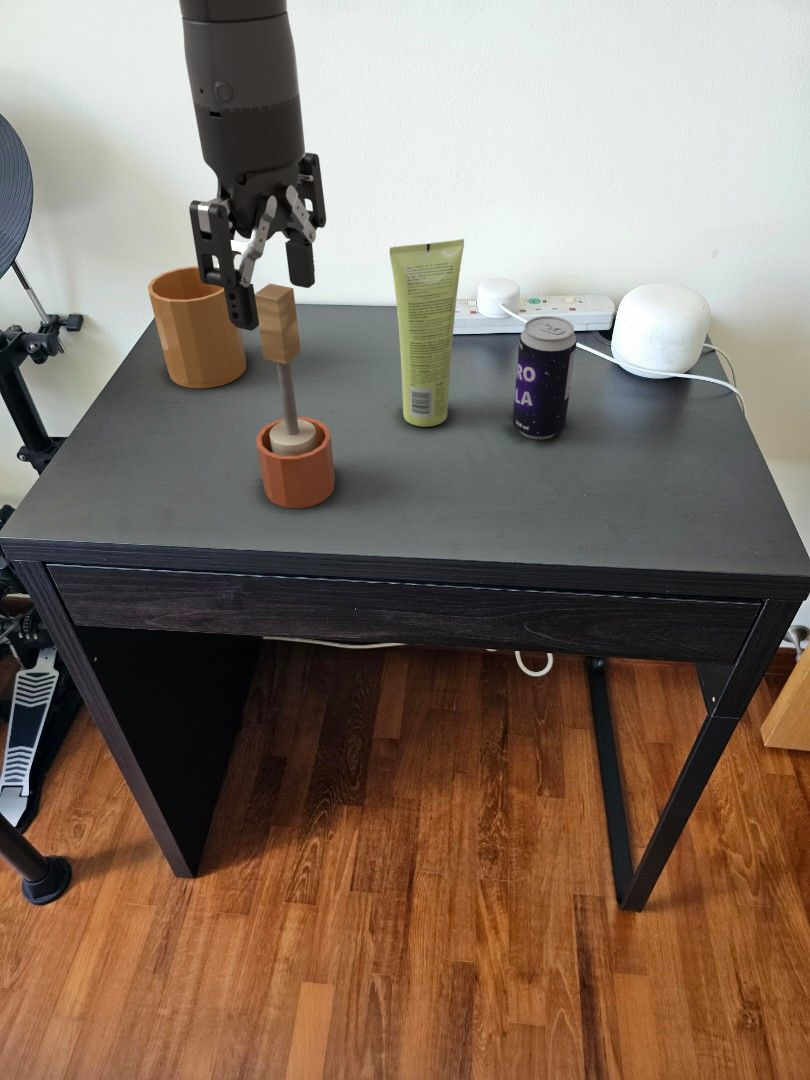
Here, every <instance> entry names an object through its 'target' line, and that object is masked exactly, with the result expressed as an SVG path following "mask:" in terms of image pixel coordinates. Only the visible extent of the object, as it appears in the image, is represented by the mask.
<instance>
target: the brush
mask: <svg viewBox="0 0 810 1080" xmlns="http://www.w3.org/2000/svg"><path fill="white" fill-rule="evenodd" d="M254 293H255V299H256V306H257V312H258V318H259V326H258V330H259V337H260V343H261V350H262V357H263V359H264V360H266V361H271V362H274V363H276V370H277V376H278V382H279V384H278V385H279V391H280V398H281V405H282V412H283V419H285V421H283V422H280V423H278V424H276V425H275V426H274V427H273V428H272V429H271V431H270V441H271V447H272V453H275V454H278V455H281V456H297V455H301V454H305V453H309V452H311V451H313V450H314V449H316V448H318V444H317V435H316V429H315V427H314V425H313V424H311V423H310V422H308V421H305V420H299V419H297V417H298V413H297V406H296V405H297V404H296V397H295V389H294V381H293V380H294V379H293V373H292V367H291V366H292V365H291V361H293V360H294V359H295V358H296V357H298V356H299V355H300V354H301V352H302V351H301V343H300V342H301V341H300V332H299V325H298V324H299V323H298V315H297V306H296V299H295V291H294V287H290V286H284V285H279V284H276V283H268V284H267V285H265V286H264V287H263V288H261V289H259V290H258V291H256V292H254Z"/></svg>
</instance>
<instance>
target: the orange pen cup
mask: <svg viewBox="0 0 810 1080" xmlns="http://www.w3.org/2000/svg"><path fill="white" fill-rule="evenodd" d="M147 291H148V296H149V301H150V303H151V309H152V312H153V316H154V319H155V324H156V329H157V332H158V335H159V340H160V345H161V348H162V353H163V356H164V360H165V364H166V369H167V373H168V376H169V378H170V380H171V381H172V382H173V383H175V384H176V385H177V386H181V387H184V388H188V389H196V390H197V389H198V390H199V389H211V388H212V389H213V388H217V387H222V386H225V385H227V384H229V383H231V382H233V381H236V380H237V379H239V377H241V376H242V375H243V374H244V373H245V371H246V369H247V357H246V356H247V355H246V351H245V344H244V339H243V333H242V329H241V328H237V327H235V326H234V325H233V323H231V321H230V319H229V314H228V309H227V307H228V306H227V303H226V298H225V292H224V288H223V287H220V286H215V285H211V284H205V283H202V282H201V280H200V275H199V269H198V265H192V266H186V267H179V268H175V269H171V270H168V271H165V272H163V273H161V274H159V275H157V276H156V277H154V278H152V279H151V281H150V282H149V283H148V284H147Z"/></svg>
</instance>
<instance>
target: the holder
mask: <svg viewBox="0 0 810 1080" xmlns="http://www.w3.org/2000/svg"><path fill="white" fill-rule="evenodd" d="M297 419H299V420H305V421H308V422H310V423H311V424H313V425H314V427H315V429H316V435H317V444H318V448H316V449H314V450H313V451H311V452H309V453H305V454H301V455H297V456H281V455H278V454H275V453H272V447H271V441H270V431H271V429H272V428H273V427H274V426H275V425H276V424H278V423H280V422H283V421H285V419H284V418H281V419H275V420H273V421H272V422H270V423H268V424H267V425H264V426H263V427H262V428H261V429H260V431H259V432H258V434H257V435H256V438H255V440H256V449H257V454H258V460H259V465H260V471H261V472H260V473H261V478H262V482H263V483H262V484H263V489H264V494H265V495H266V498H267V499H268V500H269V501H271V503H273V504H274V505H277V506H280V507H282V508H286V509H305V508H310V507H314V506H316V505H319V504H320V503H323V502H324V501H326V500H327V499H328V498H330V496H331V495H332V493H334V490H335V486H336V475H335V465H334V456H333V446H332V435H331V432H330V428H329V427H328V426H327V425H326V424H325V423H323V422H322V421H320V420H318V419H315V418H311V417H308V416H297Z"/></svg>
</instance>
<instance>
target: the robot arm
mask: <svg viewBox="0 0 810 1080" xmlns="http://www.w3.org/2000/svg"><path fill="white" fill-rule="evenodd" d="M178 4H179V9H180V14H181V16H182V17H181V22H182V30H183V31H182V32H183V46H184V49H183V50H184V58H185V65H186V71H187V76H188V81H189V86H190V92H191V98H192V104H193V109H194V115H195V120H196V126H197V133H198V137H199V142H200V147H201V153H202V158H203V161H204V162H205V164H206V165H207V166H208V167H209V168H210V169H211V170H212V171H213V173H214V174H215V177H216V178H217V179H216V180H217V190H216V197H215V198H213V199H210V200H208V201H203V200H196V199H194V200H192V201H191V202H190V204H189V206H188V208H189V209H188V210H189V217H190V218H189V219H190V224H191V230H192V236H193V243H194V249H195V255H196V256H195V257H196V262H197V266H198V269H199V275H200V280H201V282H202V283H205V284H211V285H215V286H220V287H223V288H224V292H225V298H226V303H227V306H228V307H227V309H228V314H229V319H230V321H231V323H233V325H234V326H235V327H237V328H241V330H246V331H251V332H252V331H255V329H257V328H259V318H258V312H257V306H256V299H255V293H256V292H255V288H254V287H255V286H254V284H253V283H252V279H253V274H254V271H255V265H256V261H258V260H259V259H261V258H262V257H263V254H264V251H265V246H266V242H268V240H270V239H271V238H272V237H273V236H274V235H275V234H276V233H279V232H281V233H282V234H283V236H284V237H285V239H288V240H287V241H286V242H284V244H285V255H286V262H287V269H288V277H289V282H290V284H291V285H293V286H296V287H300V288H304V289H310V288H311V287H312V286H314V285H315V283H316V277H315V272H316V270H315V268H316V267H315V259H314V249H313V243H315V241H316V239H317V230H318V228H320V229H323V228H324V227H325V226H326V224H327V212H326V204H325V196H324V195H325V194H324V188H323V180H322V172H321V162H320V157H319V154H317V153H312V152H306V145H305V134H304V125H303V114H302V113H303V112H302V103H301V96H300V84H299V75H298V65H297V56H296V47H295V42H294V38H293V33H292V29H291V24H290V18H289V11H288V0H178ZM306 200H309V201H310V203H311V207H312V210H308V209H307V205H306ZM236 233H237V234H238V235H239V237H242V238H244V239H245V240H246V239H247V240H248V241H246V242H242V241H237V240H235V237H236V236H235V235H236ZM237 255H240V262H239V266H238V268H236V267H235V258H236V256H237ZM213 257H215V258H216V259H217V265H216V266H217V267H215V266H214V259H213Z"/></svg>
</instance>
